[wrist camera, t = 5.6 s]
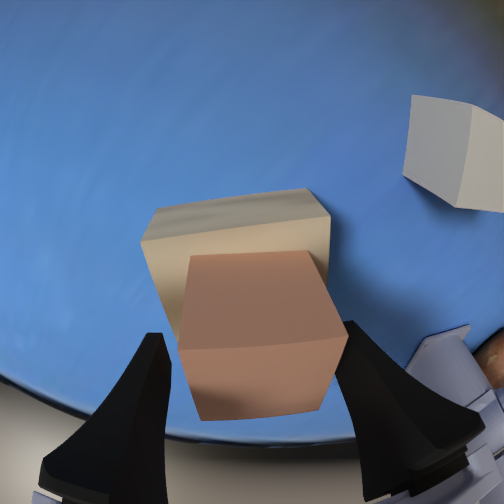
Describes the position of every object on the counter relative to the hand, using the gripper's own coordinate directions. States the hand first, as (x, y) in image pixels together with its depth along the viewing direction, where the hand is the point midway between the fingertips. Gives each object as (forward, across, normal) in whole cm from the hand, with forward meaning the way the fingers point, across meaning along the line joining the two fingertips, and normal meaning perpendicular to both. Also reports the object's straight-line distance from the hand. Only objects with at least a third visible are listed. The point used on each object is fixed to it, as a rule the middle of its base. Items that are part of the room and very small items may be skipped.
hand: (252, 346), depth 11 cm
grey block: (+6, -12, -8) cm, 16 cm away
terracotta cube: (+3, 0, 0) cm, 3 cm away
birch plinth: (+7, 0, 0) cm, 7 cm away
